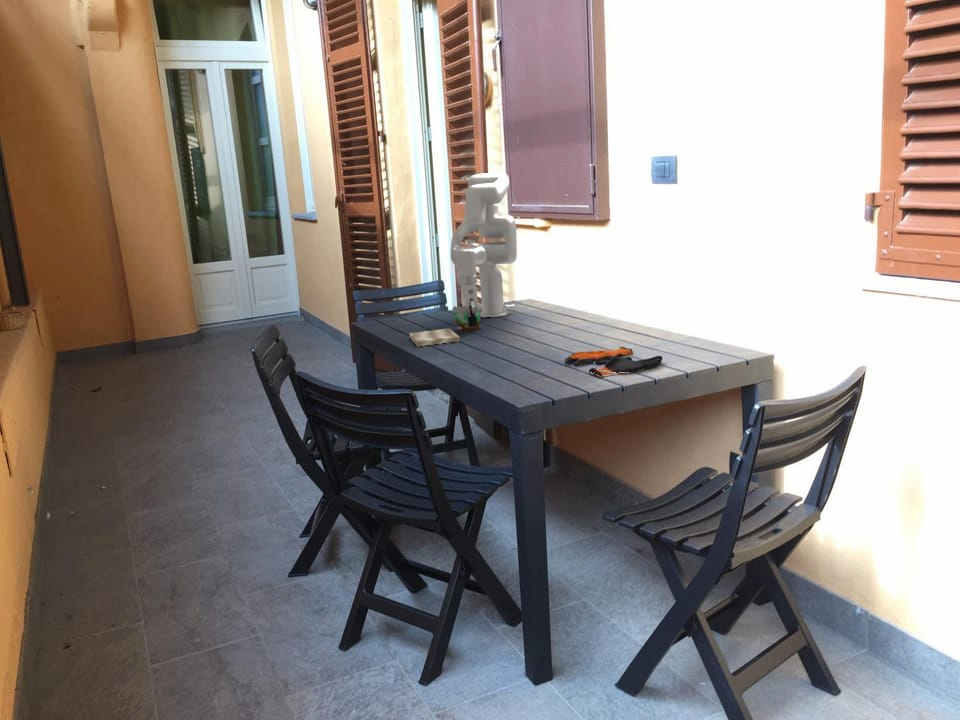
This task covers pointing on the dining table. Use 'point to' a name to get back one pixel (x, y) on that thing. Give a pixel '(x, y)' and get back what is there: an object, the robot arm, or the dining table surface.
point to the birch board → (434, 337)
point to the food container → (466, 318)
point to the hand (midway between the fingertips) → (470, 324)
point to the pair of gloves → (612, 361)
